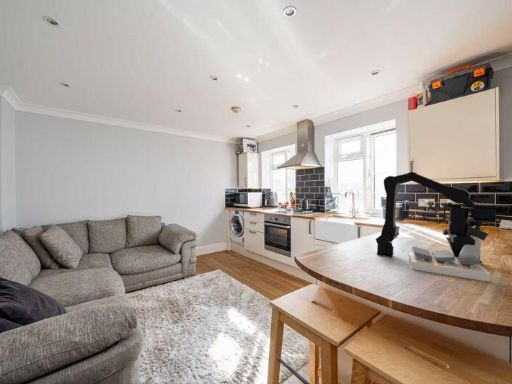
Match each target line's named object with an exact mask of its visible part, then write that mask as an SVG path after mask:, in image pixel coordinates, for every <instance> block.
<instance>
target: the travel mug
mask: <svg viewBox="0 0 512 384" xmlns="http://www.w3.org/2000/svg"><path fill="white" fill-rule="evenodd" d="M468 223H470V224H471V227H473V226H477V227H480V228H481V229H482V222H480V221H475V219H473V218H468ZM470 237H472V238H473V239H474V240H475V245H464V246H463V248H462V250H461V252H460V253H472V254H473V255H475V256H476V257H477V258H479V259H480V260H481V251H482V250H481V248H482V245H481V244H482V240H481V239H480V238H477V237H474V236H472V235H471V236H470Z"/></svg>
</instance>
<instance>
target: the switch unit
mask: <svg viewBox="0 0 512 384" xmlns="http://www.w3.org/2000/svg"><path fill="white" fill-rule="evenodd" d="M432 257H433V258H432V260H430V259H426V258H423V257H419V256H416V255H414V253H413V252H408V261H409V264H410V267H411V269H412V270H417V271H421V272H427V273H429V272H430V273H433V274H441V275H447V276H452V277H459V278H466V279H471V280H478V281H481V282H482V281H484V282H491V273H490V272H489V271H487V269H485V268H484V266H482V265H474V264H461V263H460V262H459V261H458V260H457V259H456V258H455V259H456V261H436V259H435V258H434V256H433V255H432Z"/></svg>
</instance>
